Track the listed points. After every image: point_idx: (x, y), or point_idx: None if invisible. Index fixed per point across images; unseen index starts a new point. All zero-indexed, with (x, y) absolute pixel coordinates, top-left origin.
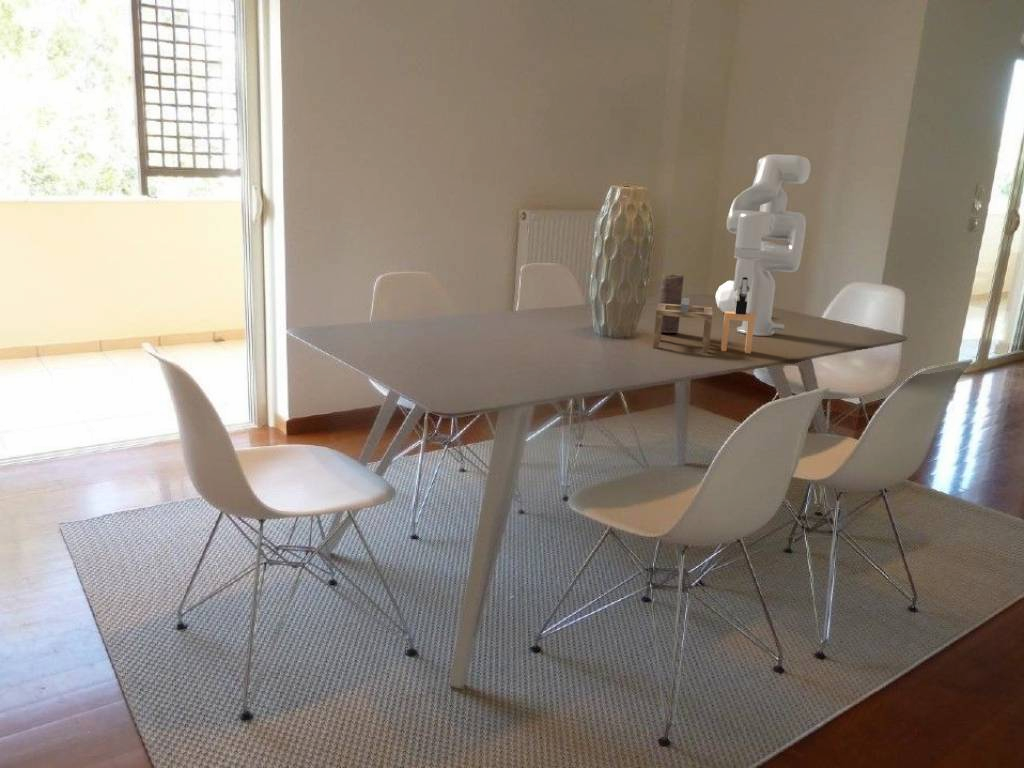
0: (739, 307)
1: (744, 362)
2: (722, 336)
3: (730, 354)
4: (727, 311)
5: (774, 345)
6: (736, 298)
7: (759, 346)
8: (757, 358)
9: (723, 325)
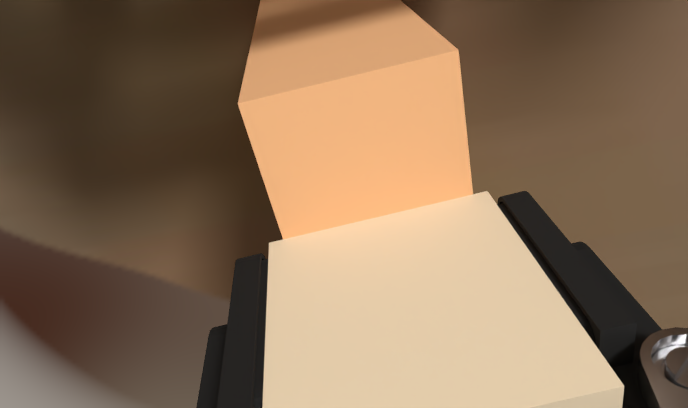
0: (205, 376)
1: (4, 221)
2: (319, 2)
3: (184, 90)
4: (430, 96)
5: (650, 260)
6: (531, 358)
7: (582, 198)
8: (198, 258)
9: (390, 8)
